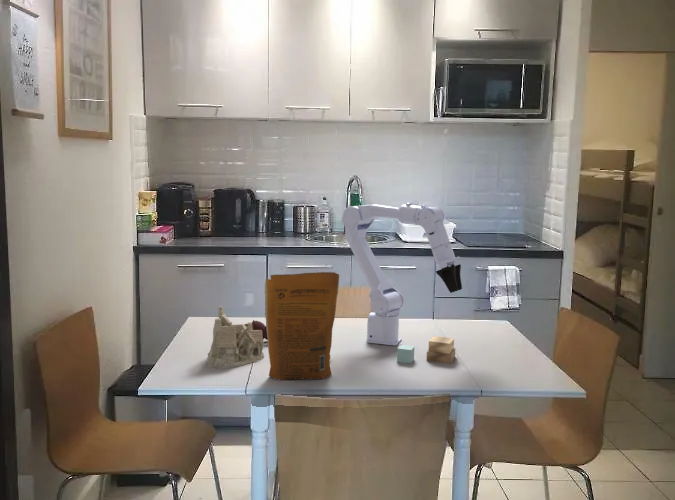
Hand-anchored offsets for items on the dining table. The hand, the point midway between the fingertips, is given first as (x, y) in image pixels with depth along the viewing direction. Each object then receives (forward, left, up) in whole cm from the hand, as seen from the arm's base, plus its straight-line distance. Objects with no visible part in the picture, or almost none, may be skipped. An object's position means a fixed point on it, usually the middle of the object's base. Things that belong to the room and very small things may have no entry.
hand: (456, 291), depth 198 cm
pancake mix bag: (-34, -35, -19) cm, 53 cm away
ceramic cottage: (-57, -27, -20) cm, 66 cm away
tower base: (-3, -4, -20) cm, 20 cm away
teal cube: (-12, -10, -19) cm, 25 cm away
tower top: (-3, -4, -17) cm, 17 cm away
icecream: (-60, -9, -20) cm, 64 cm away
